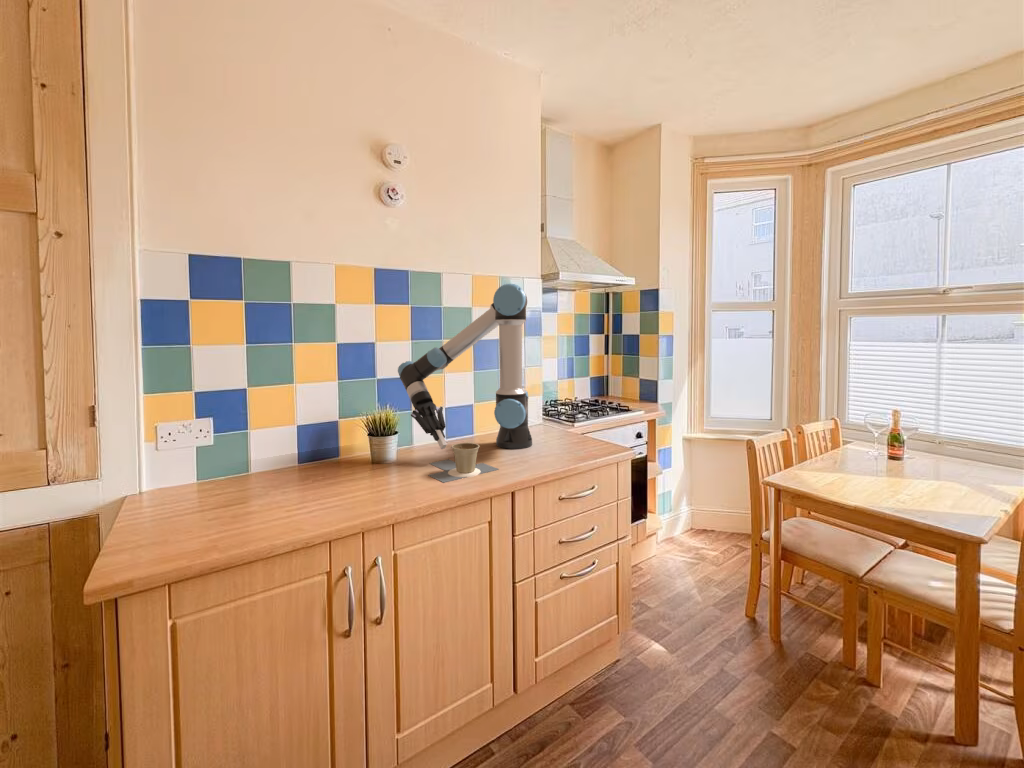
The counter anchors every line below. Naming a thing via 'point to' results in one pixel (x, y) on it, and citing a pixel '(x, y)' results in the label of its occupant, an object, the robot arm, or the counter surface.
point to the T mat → (452, 474)
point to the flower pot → (465, 456)
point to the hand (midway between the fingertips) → (444, 446)
